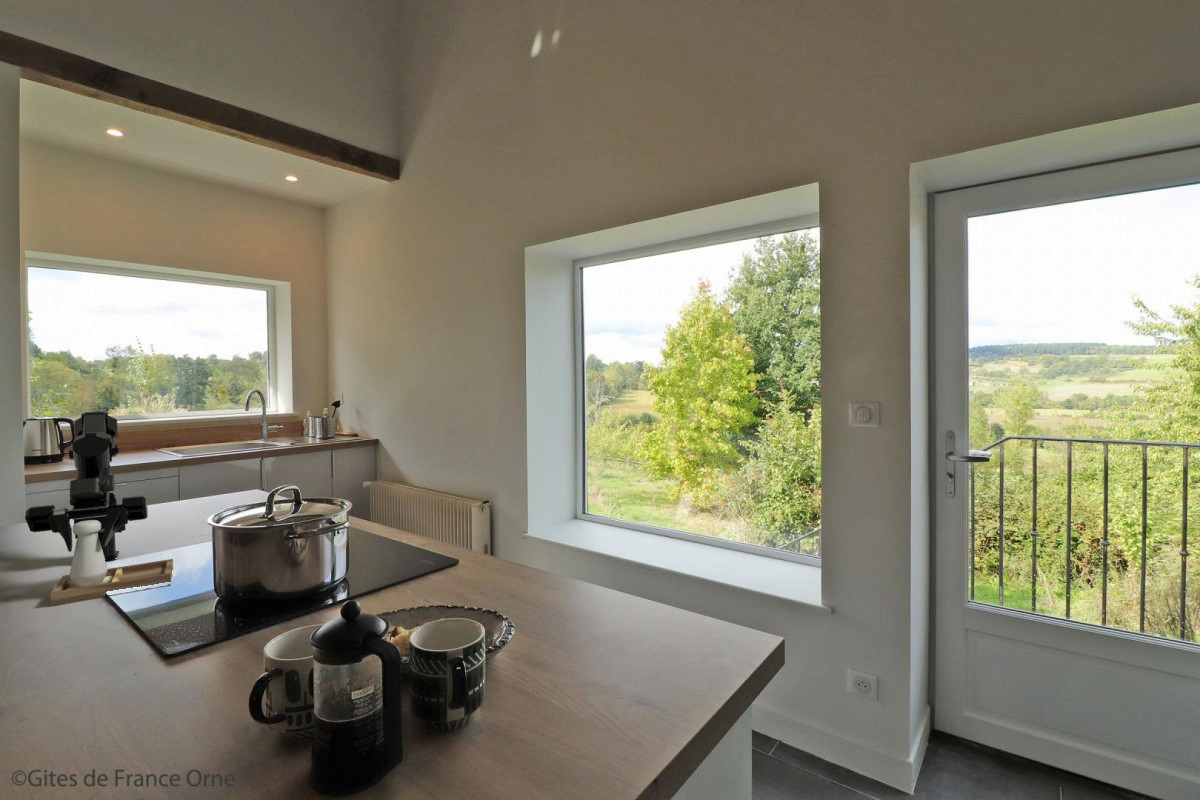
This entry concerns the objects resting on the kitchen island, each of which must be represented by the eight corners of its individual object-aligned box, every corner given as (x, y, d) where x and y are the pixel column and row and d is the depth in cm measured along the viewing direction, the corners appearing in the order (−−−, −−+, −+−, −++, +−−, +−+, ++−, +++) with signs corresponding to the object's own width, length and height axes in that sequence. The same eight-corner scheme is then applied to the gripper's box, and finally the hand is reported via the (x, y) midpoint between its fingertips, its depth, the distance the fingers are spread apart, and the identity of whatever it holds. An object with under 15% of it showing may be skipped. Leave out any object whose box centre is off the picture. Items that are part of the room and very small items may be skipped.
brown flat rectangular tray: (63, 586, 119) (63, 575, 119) (173, 569, 129) (172, 558, 129) (51, 606, 109) (50, 594, 109) (170, 585, 120) (170, 574, 119)
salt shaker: (111, 582, 117) (108, 520, 117) (73, 591, 113) (71, 526, 112) (103, 577, 121) (101, 516, 120) (67, 585, 116) (64, 522, 116)
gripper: (24, 467, 113) (12, 535, 105) (144, 458, 124) (142, 519, 116) (36, 499, 120) (25, 565, 112) (148, 488, 131) (146, 547, 122)
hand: (86, 548), depth 115 cm, fingers open, 5 cm apart
